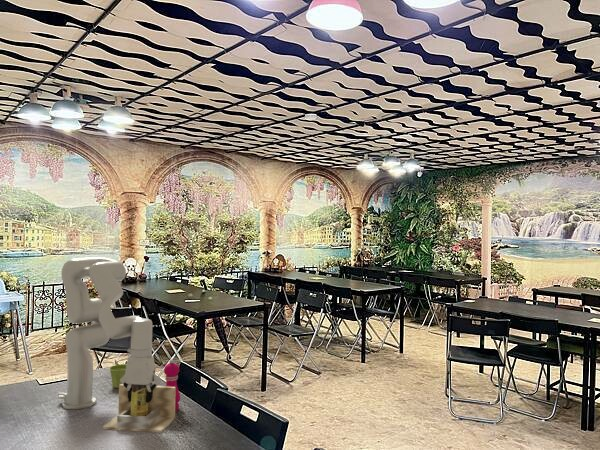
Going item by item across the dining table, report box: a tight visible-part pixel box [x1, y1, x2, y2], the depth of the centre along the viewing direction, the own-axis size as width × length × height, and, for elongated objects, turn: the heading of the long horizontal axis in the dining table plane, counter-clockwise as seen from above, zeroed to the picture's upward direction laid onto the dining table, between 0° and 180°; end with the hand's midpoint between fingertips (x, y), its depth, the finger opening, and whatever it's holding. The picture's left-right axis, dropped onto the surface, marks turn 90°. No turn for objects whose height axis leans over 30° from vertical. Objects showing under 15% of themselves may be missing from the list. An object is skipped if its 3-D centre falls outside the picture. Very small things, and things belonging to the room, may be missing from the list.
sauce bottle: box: [130, 385, 149, 416], centre depth 173 cm, size 6×6×20 cm
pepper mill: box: [163, 359, 181, 412], centre depth 188 cm, size 7×7×20 cm
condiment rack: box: [102, 384, 176, 434], centre depth 173 cm, size 22×13×12 cm, turn 84°
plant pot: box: [108, 363, 127, 389], centre depth 215 cm, size 9×9×9 cm
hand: (140, 400), depth 173 cm, fingers closed on sauce bottle, 6 cm apart
